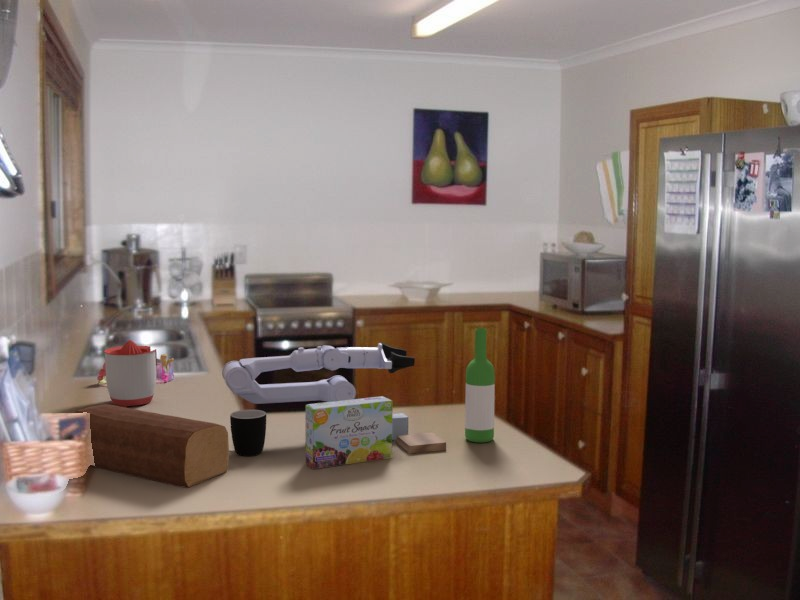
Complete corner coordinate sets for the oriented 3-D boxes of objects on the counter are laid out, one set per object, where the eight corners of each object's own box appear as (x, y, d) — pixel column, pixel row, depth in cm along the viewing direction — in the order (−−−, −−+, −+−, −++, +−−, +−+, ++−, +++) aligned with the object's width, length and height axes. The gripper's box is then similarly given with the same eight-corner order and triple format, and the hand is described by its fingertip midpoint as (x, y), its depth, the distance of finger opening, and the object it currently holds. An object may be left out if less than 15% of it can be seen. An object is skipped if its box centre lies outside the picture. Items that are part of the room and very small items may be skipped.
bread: (185, 491, 191) (183, 432, 189) (67, 463, 210) (65, 409, 209) (232, 472, 204) (230, 416, 202) (117, 447, 224) (115, 397, 222)
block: (392, 440, 230) (392, 418, 229) (387, 436, 234) (387, 414, 233) (408, 438, 231) (408, 417, 231) (402, 434, 235) (403, 413, 235)
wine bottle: (482, 445, 225) (483, 332, 222) (458, 439, 230) (460, 328, 227) (499, 439, 231) (501, 328, 227) (476, 433, 236) (478, 325, 233)
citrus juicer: (170, 403, 270) (168, 340, 267) (114, 411, 260) (111, 346, 258) (154, 394, 282) (152, 333, 280) (100, 401, 273) (97, 338, 270)
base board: (409, 453, 218) (409, 445, 218) (396, 442, 227) (396, 435, 227) (446, 449, 221) (446, 442, 221) (432, 439, 231) (432, 432, 230)
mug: (274, 452, 218) (273, 413, 217) (244, 460, 212) (243, 420, 211) (246, 443, 227) (246, 405, 226) (217, 450, 221) (216, 411, 219)
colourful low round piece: (122, 373, 317) (122, 348, 316) (184, 375, 314) (183, 350, 313) (89, 388, 292) (88, 361, 291) (155, 390, 289) (154, 363, 288)
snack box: (313, 470, 205) (312, 408, 203) (305, 464, 210) (304, 403, 208) (393, 458, 214) (393, 399, 212) (383, 452, 219) (383, 394, 217)
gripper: (370, 350, 226) (419, 351, 230) (357, 336, 240) (403, 337, 244) (368, 376, 228) (416, 376, 232) (355, 361, 241) (401, 361, 245)
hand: (410, 357), depth 238 cm, fingers open, 7 cm apart
